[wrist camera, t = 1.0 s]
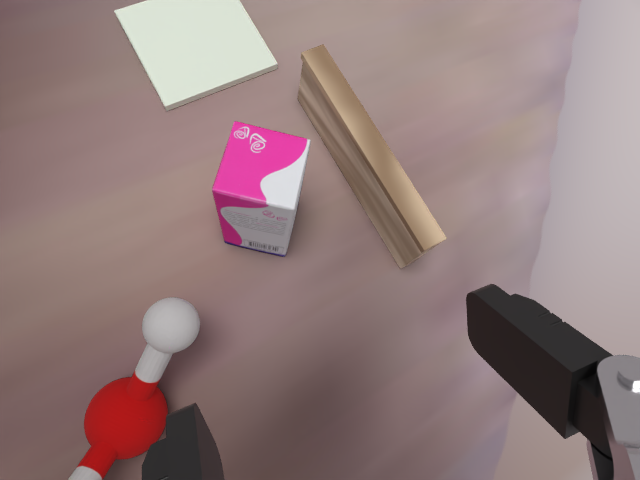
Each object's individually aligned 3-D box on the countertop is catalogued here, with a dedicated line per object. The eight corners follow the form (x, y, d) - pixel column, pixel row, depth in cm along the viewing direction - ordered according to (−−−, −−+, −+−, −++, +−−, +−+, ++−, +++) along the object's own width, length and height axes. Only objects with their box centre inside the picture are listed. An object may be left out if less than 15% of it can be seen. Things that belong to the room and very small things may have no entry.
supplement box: (299, 199, 42) (314, 138, 31) (285, 258, 40) (295, 215, 29) (239, 184, 42) (233, 117, 31) (222, 243, 40) (209, 194, 29)
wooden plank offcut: (397, 270, 41) (424, 250, 35) (294, 99, 45) (301, 52, 38) (416, 259, 42) (446, 238, 35) (313, 92, 46) (323, 44, 39)
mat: (166, 111, 43) (165, 106, 42) (116, 16, 45) (114, 10, 44) (277, 68, 46) (277, 63, 45) (225, -18, 48) (224, -24, 47)
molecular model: (122, 550, 32) (66, 623, 23) (45, 523, 32) (-43, 585, 23) (218, 321, 38) (205, 304, 28) (153, 297, 38) (118, 272, 28)
